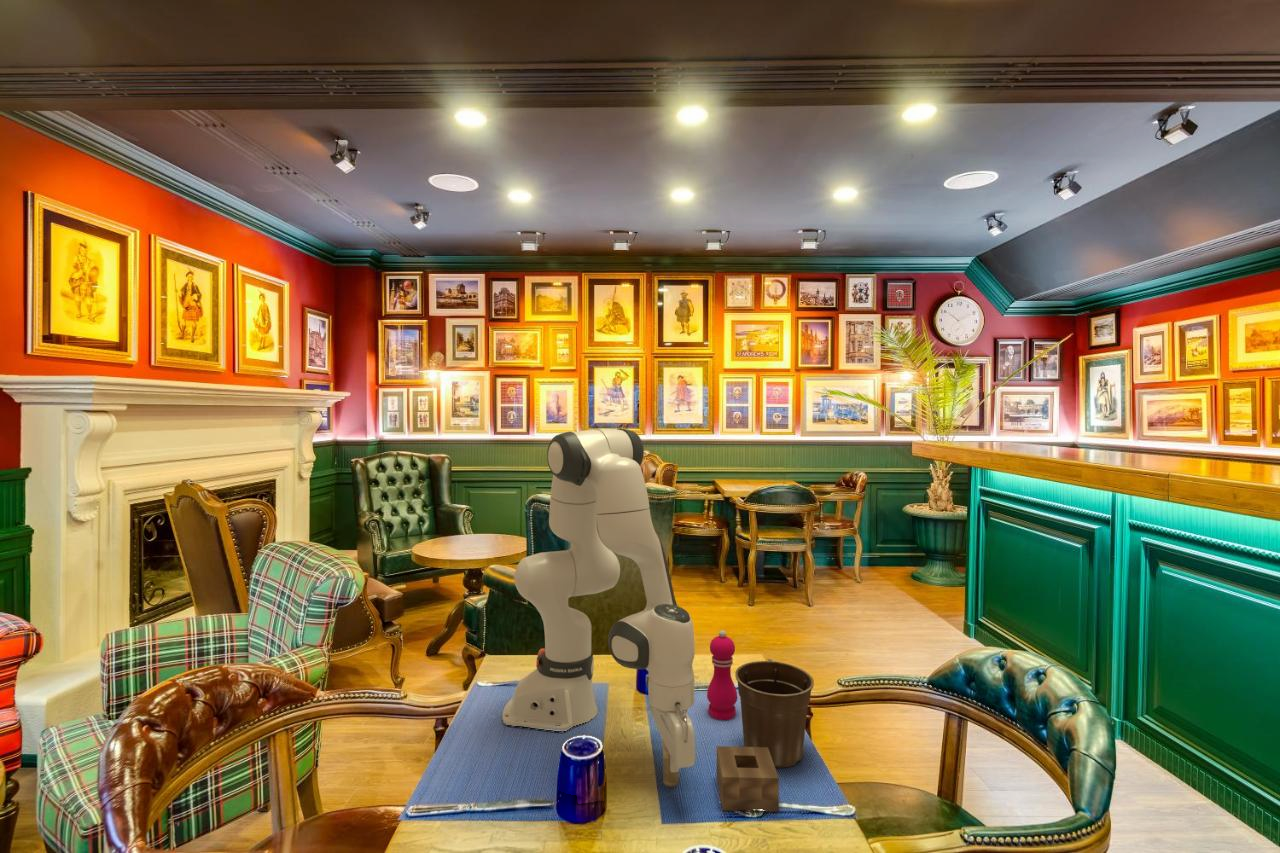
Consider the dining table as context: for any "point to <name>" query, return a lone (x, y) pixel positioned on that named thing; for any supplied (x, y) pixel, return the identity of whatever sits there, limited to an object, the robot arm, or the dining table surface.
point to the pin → (668, 770)
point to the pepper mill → (722, 679)
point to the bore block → (747, 779)
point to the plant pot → (774, 708)
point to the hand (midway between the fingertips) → (670, 763)
